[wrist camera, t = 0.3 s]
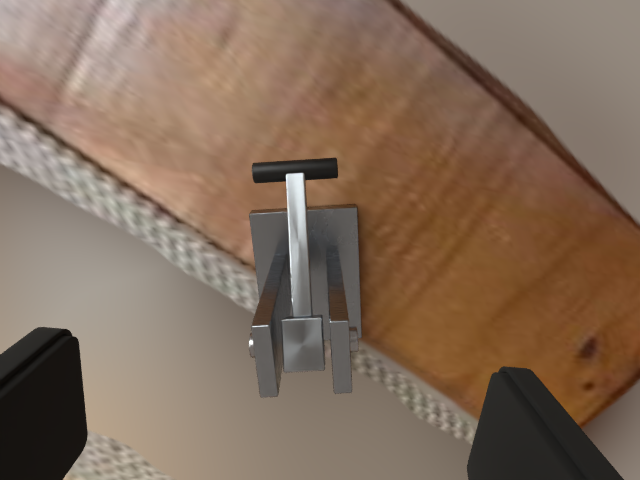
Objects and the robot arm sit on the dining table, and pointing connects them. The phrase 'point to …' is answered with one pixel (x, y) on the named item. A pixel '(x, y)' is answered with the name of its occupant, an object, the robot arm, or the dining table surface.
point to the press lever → (299, 261)
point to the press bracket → (326, 284)
